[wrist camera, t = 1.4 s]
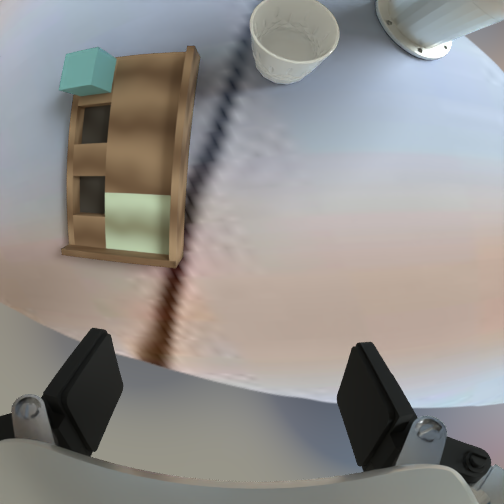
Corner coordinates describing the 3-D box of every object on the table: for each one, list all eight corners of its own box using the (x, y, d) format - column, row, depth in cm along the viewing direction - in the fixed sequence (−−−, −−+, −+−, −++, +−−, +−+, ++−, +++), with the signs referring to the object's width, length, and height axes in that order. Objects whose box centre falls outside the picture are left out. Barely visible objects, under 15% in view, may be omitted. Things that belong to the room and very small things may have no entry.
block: (86, 63, 26) (66, 54, 21) (116, 59, 26) (98, 46, 21) (80, 96, 27) (58, 90, 22) (111, 92, 27) (90, 84, 22)
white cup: (321, 86, 29) (348, 62, 20) (254, 92, 30) (257, 67, 20) (308, 31, 27) (328, -7, 18) (244, 36, 27) (243, -4, 18)
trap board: (86, 67, 27) (71, 60, 24) (200, 57, 28) (194, 45, 24) (76, 245, 35) (61, 254, 31) (183, 256, 36) (175, 268, 32)
